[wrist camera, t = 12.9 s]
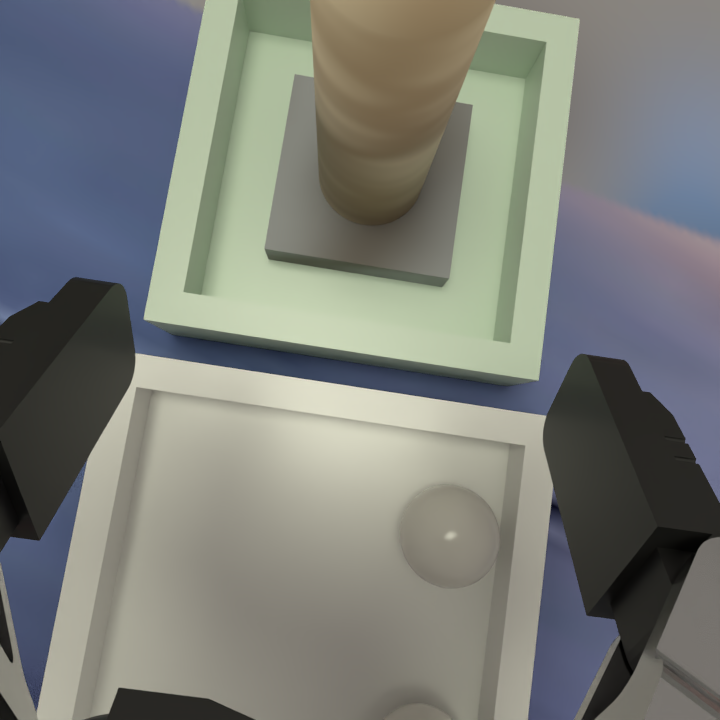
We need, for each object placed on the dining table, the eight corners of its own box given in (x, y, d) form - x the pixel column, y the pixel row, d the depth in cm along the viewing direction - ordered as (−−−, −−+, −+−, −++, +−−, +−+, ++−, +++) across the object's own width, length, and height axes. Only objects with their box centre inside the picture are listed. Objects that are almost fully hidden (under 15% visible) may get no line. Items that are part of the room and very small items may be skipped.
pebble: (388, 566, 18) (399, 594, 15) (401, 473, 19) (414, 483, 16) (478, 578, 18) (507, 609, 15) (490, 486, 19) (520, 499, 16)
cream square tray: (54, 788, 18) (9, 848, 15) (137, 358, 19) (109, 349, 17) (483, 842, 18) (507, 908, 16) (531, 418, 20) (560, 418, 17)
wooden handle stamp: (268, 259, 19) (197, 79, 9) (296, 95, 20) (260, -247, 10) (442, 287, 19) (565, 141, 9) (464, 123, 20) (601, -183, 10)
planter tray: (172, 334, 20) (143, 319, 17) (231, 20, 21) (214, -47, 18) (507, 386, 20) (538, 380, 17) (545, 74, 21) (580, 19, 18)
